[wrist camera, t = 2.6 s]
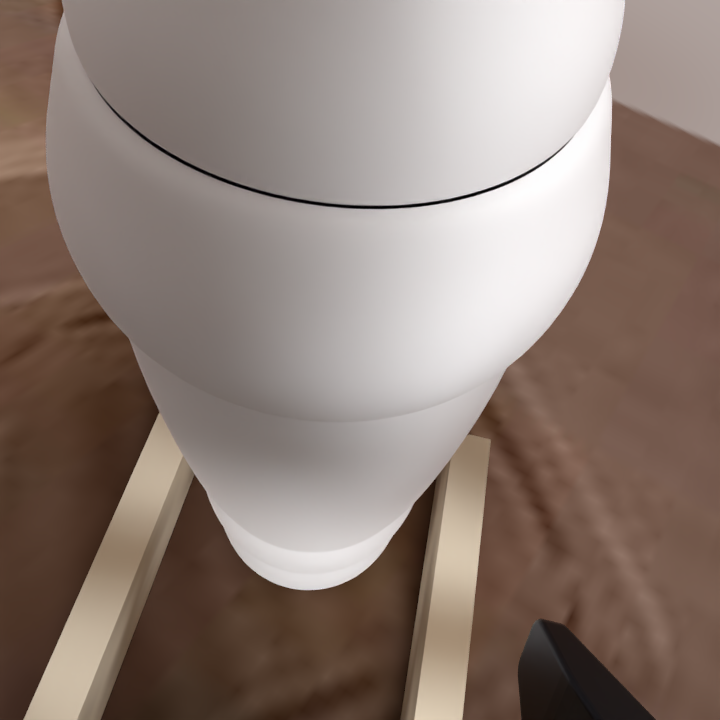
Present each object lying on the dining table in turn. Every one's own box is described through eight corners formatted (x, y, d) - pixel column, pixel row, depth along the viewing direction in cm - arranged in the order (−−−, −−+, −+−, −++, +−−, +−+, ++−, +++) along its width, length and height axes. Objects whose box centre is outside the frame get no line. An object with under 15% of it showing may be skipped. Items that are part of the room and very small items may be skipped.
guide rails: (415, 958, 16) (432, 1003, 14) (-1, 850, 17) (-47, 878, 14) (473, 459, 24) (490, 439, 22) (190, 391, 24) (180, 364, 22)
